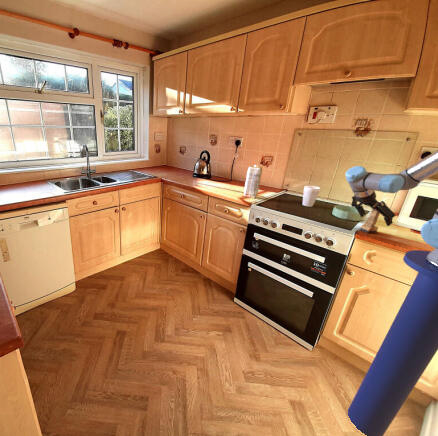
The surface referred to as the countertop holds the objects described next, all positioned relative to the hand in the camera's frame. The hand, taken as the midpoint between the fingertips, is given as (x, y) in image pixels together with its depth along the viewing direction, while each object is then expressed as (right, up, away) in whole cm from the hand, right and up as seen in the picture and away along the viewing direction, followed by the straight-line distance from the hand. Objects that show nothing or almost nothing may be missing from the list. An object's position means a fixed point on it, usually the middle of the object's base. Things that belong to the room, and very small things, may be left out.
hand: (376, 219), depth 128 cm
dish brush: (-3, -6, +2) cm, 7 cm away
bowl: (+3, +1, +22) cm, 22 cm away
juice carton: (-42, +17, +59) cm, 74 cm away
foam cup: (-8, +10, +42) cm, 44 cm away
